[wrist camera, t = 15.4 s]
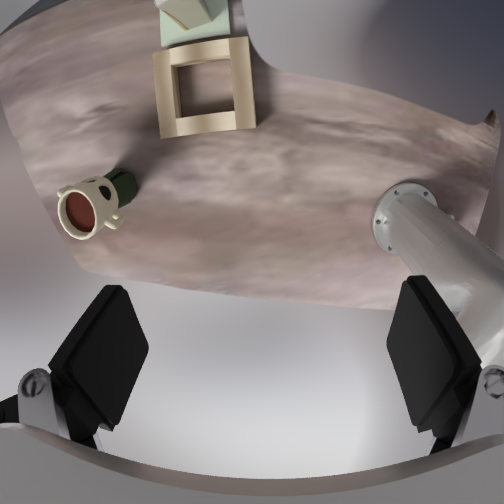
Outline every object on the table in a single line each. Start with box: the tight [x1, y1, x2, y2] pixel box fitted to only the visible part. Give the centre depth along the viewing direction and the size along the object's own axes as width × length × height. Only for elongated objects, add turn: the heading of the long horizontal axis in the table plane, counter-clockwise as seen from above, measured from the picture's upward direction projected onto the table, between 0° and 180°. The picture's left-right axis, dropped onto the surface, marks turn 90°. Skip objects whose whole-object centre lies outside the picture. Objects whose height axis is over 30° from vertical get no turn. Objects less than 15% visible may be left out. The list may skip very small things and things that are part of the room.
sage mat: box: [160, 0, 231, 47], centre depth 28 cm, size 10×10×1 cm
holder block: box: [152, 36, 257, 139], centre depth 33 cm, size 13×13×3 cm
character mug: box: [57, 169, 137, 240], centre depth 36 cm, size 11×7×13 cm, turn 60°
